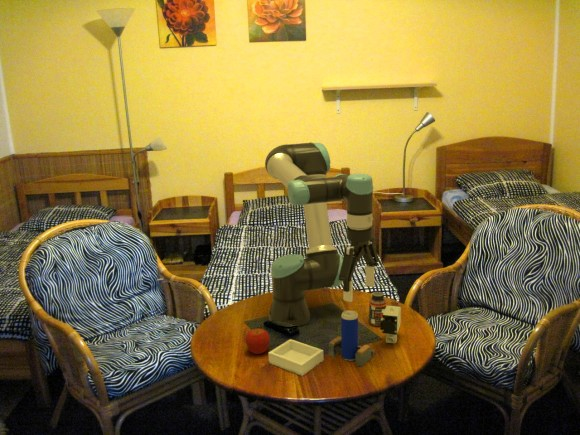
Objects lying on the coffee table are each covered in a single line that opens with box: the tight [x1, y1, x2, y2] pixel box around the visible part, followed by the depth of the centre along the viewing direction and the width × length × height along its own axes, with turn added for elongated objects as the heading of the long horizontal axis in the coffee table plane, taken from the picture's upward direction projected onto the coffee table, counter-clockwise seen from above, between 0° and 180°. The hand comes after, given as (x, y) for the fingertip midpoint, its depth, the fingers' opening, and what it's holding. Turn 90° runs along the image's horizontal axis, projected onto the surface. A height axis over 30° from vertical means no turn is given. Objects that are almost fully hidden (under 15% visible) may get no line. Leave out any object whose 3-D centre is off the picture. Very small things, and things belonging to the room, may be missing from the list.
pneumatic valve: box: [379, 304, 402, 344], centre depth 180 cm, size 6×12×12 cm, turn 161°
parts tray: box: [267, 338, 324, 377], centre depth 170 cm, size 13×11×4 cm
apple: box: [245, 328, 271, 355], centre depth 176 cm, size 8×8×8 cm
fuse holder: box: [328, 335, 376, 368], centre depth 172 cm, size 12×8×5 cm, turn 51°
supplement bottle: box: [368, 291, 387, 327], centre depth 193 cm, size 6×6×11 cm
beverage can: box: [340, 310, 359, 362], centre depth 170 cm, size 5×5×15 cm
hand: (359, 293), depth 168 cm, fingers open, 13 cm apart
